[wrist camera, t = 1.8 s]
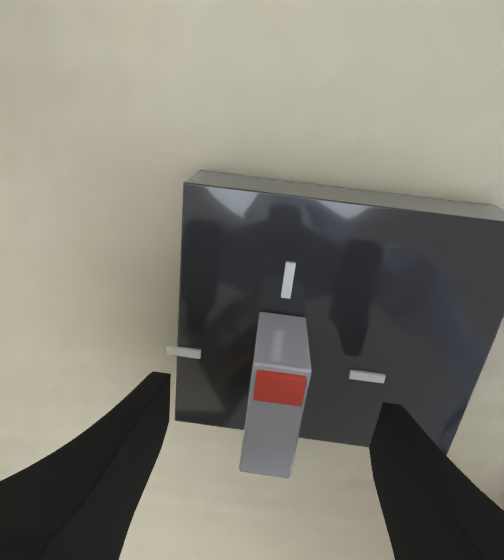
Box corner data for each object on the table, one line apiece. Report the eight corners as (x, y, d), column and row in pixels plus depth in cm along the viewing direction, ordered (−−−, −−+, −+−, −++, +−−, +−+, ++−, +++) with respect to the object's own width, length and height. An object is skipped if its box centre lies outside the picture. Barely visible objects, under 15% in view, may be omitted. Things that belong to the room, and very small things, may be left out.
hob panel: (420, 420, 20) (442, 472, 17) (181, 387, 21) (164, 433, 18) (497, 205, 16) (544, 227, 13) (190, 168, 16) (170, 181, 13)
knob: (288, 411, 17) (290, 485, 13) (246, 405, 17) (237, 478, 14) (306, 316, 15) (312, 375, 12) (259, 310, 15) (252, 367, 12)
